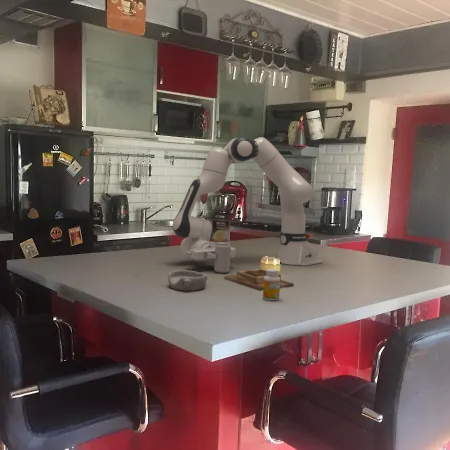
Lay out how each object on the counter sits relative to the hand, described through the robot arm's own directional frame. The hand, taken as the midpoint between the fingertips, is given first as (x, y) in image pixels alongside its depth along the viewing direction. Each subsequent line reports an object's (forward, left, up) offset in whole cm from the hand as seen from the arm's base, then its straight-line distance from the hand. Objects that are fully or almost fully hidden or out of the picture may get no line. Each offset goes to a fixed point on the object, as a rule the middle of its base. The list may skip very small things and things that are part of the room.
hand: (223, 256), depth 209 cm
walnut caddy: (-2, +21, -7) cm, 22 cm away
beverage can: (0, -1, -7) cm, 7 cm away
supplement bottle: (+10, +43, -7) cm, 45 cm away
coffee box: (-34, -52, -7) cm, 62 cm away
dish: (+26, +16, -7) cm, 31 cm away
